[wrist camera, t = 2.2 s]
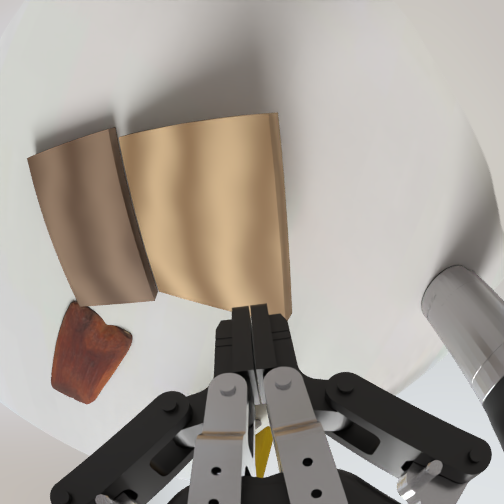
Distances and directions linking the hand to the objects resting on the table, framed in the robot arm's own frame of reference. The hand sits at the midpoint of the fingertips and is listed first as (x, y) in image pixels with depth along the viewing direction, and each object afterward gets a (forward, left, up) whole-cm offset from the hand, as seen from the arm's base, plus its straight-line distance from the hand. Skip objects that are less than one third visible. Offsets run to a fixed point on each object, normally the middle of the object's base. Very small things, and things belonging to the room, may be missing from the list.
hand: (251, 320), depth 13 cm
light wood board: (+3, 0, -13) cm, 13 cm away
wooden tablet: (+28, +22, -17) cm, 40 cm away
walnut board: (+15, 0, -17) cm, 23 cm away
